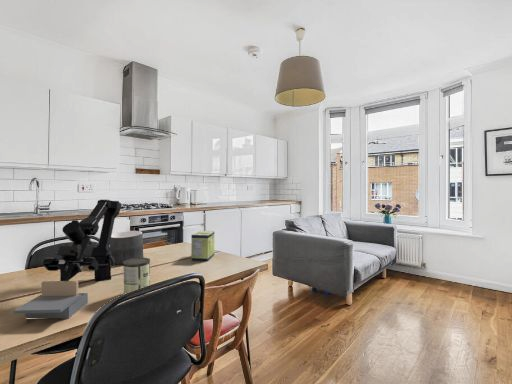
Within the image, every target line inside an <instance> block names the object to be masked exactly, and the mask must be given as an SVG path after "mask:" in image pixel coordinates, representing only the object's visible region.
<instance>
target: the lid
mask: <svg viewBox="0 0 512 384" xmlns="http://www.w3.org/2000/svg"><path fill="white" fill-rule="evenodd" d="M78 293H79V280H69V281H60V280H56V281H54V280H51V281H48V280H46V281H44V280H43V281H42V282H41V294H39V295H38V296H36V297H34V298H33V299H31V300H30V301H27V302H26V303H24V304H23V305H20V306H19V307H17V308H16V309H14V310H13V311H12V312H13V315H16V314H17V315H18V314H21V315H22V314H26V313H60V312H62V311H63V310H65V309H66V308H67V307H69V306H70V305H71V304H73V303H74V302H75V301H77V300H78V299H80V298H81V297H82V294H78Z"/></svg>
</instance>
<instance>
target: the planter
mask: <svg viewBox="0 0 512 384" xmlns="http://www.w3.org/2000/svg"><path fill="white" fill-rule="evenodd" d="M143 241H144V238H143V232H142V231H141V230H139V231H138V230H126V231H119V232H114V233H112V235H111V240H110V245H109V247H110V249H111V251H112V256H113V258H114V259H115V263H114V266H115V265H117V266H124V265H123V262H124V261H125V260H128V259H132V258H145V257H144V242H143Z"/></svg>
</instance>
